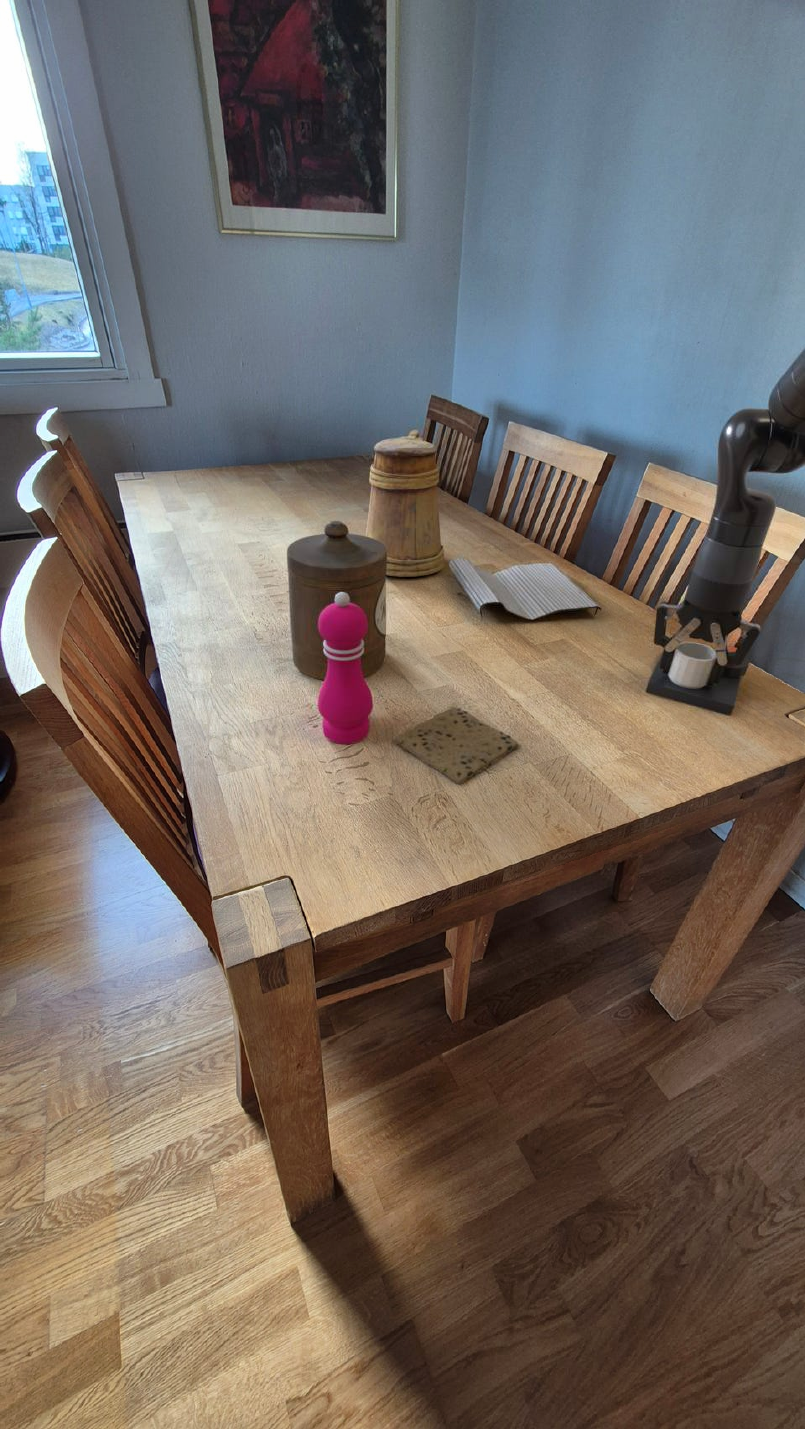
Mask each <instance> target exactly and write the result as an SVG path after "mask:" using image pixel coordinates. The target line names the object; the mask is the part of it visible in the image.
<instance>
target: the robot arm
mask: <svg viewBox="0 0 805 1429" xmlns="http://www.w3.org/2000/svg"><path fill="white" fill-rule="evenodd" d="M767 403H768V405H767V406H768V407H767V408H754V407H753V408H751V407H749V408H743V409H740V410H738V411H736V412H735V413H733V414H732V415H731V416H729V419H727V421H725V424H724V425H723V427H722V429H721V431H720V434H719V438H718V442H717V484H716V495H715V502H714V507H713V509H712V510H713V511H712V514H711V517H710V520H709V524H708V527H707V529H706V533H705V536H704V539H703V540H702V543H701V545H700V547H699V550H698V552H697V555H696V558H695V562H694V564H693V569H692V572H691V576H690V579H689V582H688V586H687V589H686V592H685V595H684V598H683V601H682V602H681V603H680V604H678V605H675V604H669V603H668V602H667V601H662V602H660V603H659V605H658V607H657V609H656V613H655V614H656V615H655V616H656V617H655V625H654V634H653V643H654V645H656V646H660V647H661V648H662V649H663V650H664V653H663V656H662V660H661V663H660V668H661V669H663V673H665V674H667V673H668V670H669V667H670V664H671V661H672V657H673V654H674V651H675V648H676V647H677V646H678V645H679V644H680V643H682V642H685V640H686V639H687V638H689V639H693V640H702V641H704V642H706V643H711V644H712V643H713V647H714V648H713V649H714V650H715V652H716V655H717V660H716V662H715V665H714V668H713V670H712V673H711V676H710V679H709V682H708V685H710V686H713V683H718V682H719V681H720V679H721V676H722V673H723V671H724V668H725V666H726V665H727V664H735V665H740V664H741V663H742V661H743V660H744V658H745V657H747V655H748V653H749V652H750V650H751V648H752V647H753V645H754V644H755V642H756V640H757V638H758V636H759V635H760V633H761V632H760V631H761V627H762V626H761V623H760V622H759V621H754V622H749V621H748V620H745V619H743V617H742V610H743V608H744V604H745V602H746V599H747V596H748V593H749V590H750V588H751V585H752V582H753V579H754V577H755V575H756V573H757V571H758V567H759V563H760V560H761V556H762V550H763V546H764V543H765V541H766V537H767V535H768V532H769V530H770V527H771V524H772V521H773V518H774V516H775V512H776V509H777V501H776V499H775V497H773V495H771V494H769V493H767V492H764V491H762V490H758V489H754V488H750V487H748V486H747V482H746V477H747V474H748V473H758V474H779V475H782V474H789V473H793V472H795V471H798V470H800V469H801V468H802V467H805V347H804V348H803V349H802V351H801V352H800V353H799V354H798V356H797V357H796V358H795V359H794V360H793V362H792V363H791V365H789V367H788V368H786V371H784V373H783V374H782V375H781V377H779V379H778V381H777V382H776V383H775V384H774V386H773V388H772V389H771V392H770V394H769V398H768V402H767ZM674 615H677V618H678V620H679V622H680V624H681V626H680V627H679V628H678V629H677V630H676V632H675V633H673V635H672V636H671V637H669V636H668V635H667V634H666V633H667V622H668V621H670V620H672V617H673V616H674ZM737 629H739V630H740V637H741V638H742V639H741V641H740V643H739V645H738V646H737V647H736V648H737V650H736V651H735V652H729V651H728V646H729V645H728V638H727V636H728V635H730V634H731V633H733V632H734V631H736V630H737Z"/></svg>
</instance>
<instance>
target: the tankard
mask: <svg viewBox="0 0 805 1429" xmlns="http://www.w3.org/2000/svg"><path fill="white" fill-rule="evenodd" d="M437 450H438V449H437V447H436V446H435V445H434V444H433V443H431V442H428V441H427V439H425V438H424V437H420V431H419V430H418V429H412V430H410V432H409V434H408V435H407V436H403V435H402V436H399V437H393V438H386V439H383V440H380V441H378V442H377V443H376V444H375V445H374V447H373V451H374V452H375V454H374V460H373V463H372V464H371V465H370V471H369V478H368V483H369V484H370V485H371V486H370V496H369V505H368V514H367V521H366V522H367V523H366V530H365V536H366V537H370V538H373V539H375V540H377V541H379V542H381V543H382V544H383V545H384V546H385V547H386V549H387V570H386V576H391V577H399V578H400V577H401V578H402V577H403V578H405V577H406V578H409V577H410V578H411V577H422V576H428V575H432V574H435V573H437V572H440V571H441V570H443V569H444V568H445V554H444V553H445V546H444V545H442V539H441V525H440V524H441V522H440V508H439V506H440V505H439V491H438V484H439V483H440V470H439V466H438V465H437V462H436V461H437V460H436V453H437Z"/></svg>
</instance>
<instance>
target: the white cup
mask: <svg viewBox="0 0 805 1429" xmlns="http://www.w3.org/2000/svg"><path fill="white" fill-rule="evenodd" d="M716 660H717V655H716V652H715V648H713V647H711V646H709V645H707V644H704V643H699V642H696V641H683V642H682V643H680V644H679V645H678V646H677V647H676V648H675V651H674V654H673V657H672V661H671V664H670V667H669V670H668V676H669V678H670V679H671V681H672V682H674V683H675V684H677V685H679V686H681V687H685V688H690V689H698V688H701V687H703V686H705V685H707V684H708V682H709V679H710V676H711V673H712V670H713V668H714V665H715V662H716Z"/></svg>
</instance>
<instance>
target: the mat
mask: <svg viewBox="0 0 805 1429" xmlns="http://www.w3.org/2000/svg"><path fill="white" fill-rule="evenodd" d="M448 566H449V570H450V572H451V574H452V576H453V577H454V579H455V580H456V582H457V583H458V585H459V586H460V587H461V589H462V590H463V591H464V593H465V594H466V596H467V597H468V599H469V600H470V602H471V603H472V605H473V606H474V608H475V609H476V611H477V612H478V614H479V615H480V618H481V620H483V613H482V609H483V607H484V606H485V605H491V604H492V605H493V604H496V605H497V606H499V607H500V608H502V609H504V611H506V612H508V613H510V614H513V615H515V616H517V617H519V618H521V619H526V620H532V621H536V620H540V619H543V618H545V617H548V616H551V615H553V614H555V613H559V612H575V611H580V610H588V609H595V611H594V614H593V616H596V614H598V610H599V611H602V610H603V609H602V607H601V605H599V604H598V603H597V601H595V600H594V599H592V597H590V596H589V595H588V594H587V593H586V592H585V591H584V590H583V589H582V588H581V587H579V586H578V584H576V582H574V581H573V580H572V579H571V578H570V577H569V576H567V575H566V574H565V573H564V572H563V571H562V570H561V569H560V568H559V567H558V566H556V565H555V564H554V563H552V562H548V563H547V562H544V563H543V562H542V563H529V564H517V565H514V566H511V567H509V568H506V569H503V570H499V571H496V572H490V571H487V570H485V569H483V568H480V567H478V566H476V565H474V564H473V563H472V562H471V560H470V559H468V558H467V557H455V558H452V559H451V560H450V561H449V563H448Z"/></svg>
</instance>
